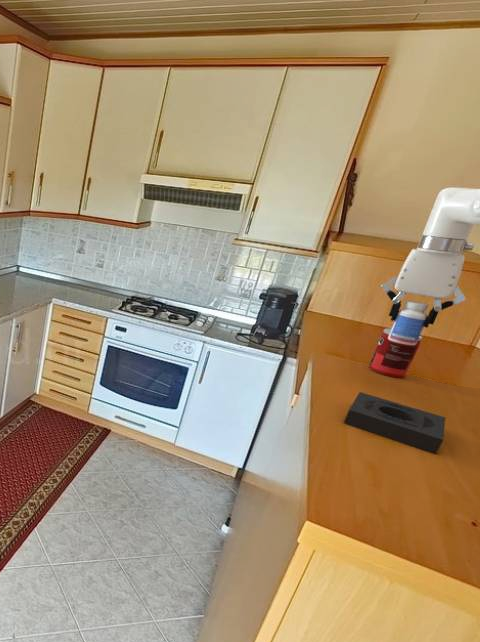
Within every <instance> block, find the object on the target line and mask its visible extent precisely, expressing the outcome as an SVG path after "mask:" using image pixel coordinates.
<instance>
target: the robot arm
mask: <svg viewBox="0 0 480 642" xmlns="http://www.w3.org/2000/svg"><path fill="white" fill-rule="evenodd" d="M474 225H476V226H480V188H471V187H446V188H444V189H442V190H440V191H439V193H438V194H437V196H436V199H435V202H434V204H433V207H432V209H431V212H430V214H429V217H428V219H427V221H426V225H425V227H424V229H423V232H422V235H421V237H420V240H419V242H418V245H417V247H416V248H412V249H411V251H410V252H409V254H408V256H407V257H406V259H405V261H404V263H403V265H402V267H401V269H400V271H399V273H398V275H396V276H395V277H393V278H391V279H389V280H388V281H386V282H384V283H382V284H381V285H380V288H381V290H383V291H384V293H385V294H386V295H387V297H388V299H390V301H391V302H392V305H391V308H390V310H389V313H388V317H391V318H390V321H391V322H394V321H395V318H396V316H397V313H398V311H399V310H401V306H402V304H401V303H402V300H403V299H404V298H405V297H406V295H408V294H409V295H415V296H422V297H427V298H432V299H433V306H432V309H430V310H429V312H428V314H427V316H428V317H427V320H426V322H425V325H424V327H423V328H427V329H428V328H429V325H432V326H433V325H434V324H435V321H436V319H437V317H438V314H439V312H441V311H444V310H446V309H448V308H450V307H452V306H455V305H458V304H461V303H464V302H466V300H467V298H466V296H465V295H464V293H463V292H462V290H461V289H460V287H459V286H458V283H459V280H460V277H461V273H462V271H463V268H464V263H465V259H466V255H465V254H462V252H465V251H473V249H474V247H475V243H471V242H469V241H468V239H469V237H470V234H471V231H472V230H473V227H474ZM393 285H394V289H395V290H396V291H397V292H398V294H396V292H395V291H394V290H393V289H392V288H391V286H393ZM452 295H454V296H455V297H454V298H452V299H449V300H447V301H446V300H445V299H448V298H450V297H451V296H452ZM442 300H445V301H444V302H443V301H442Z"/></svg>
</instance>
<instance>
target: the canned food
mask: <svg viewBox="0 0 480 642" xmlns="http://www.w3.org/2000/svg"><path fill="white" fill-rule="evenodd" d="M391 328H392V327H389V328H388V327H387V328H384V329H383V330H382V333H381V335H380V337H379V340H378V343H377V345H376V348H375V350H374V352H373V355H372V357H371V360H370V363H369V370H371V371H373V372H375V373H377V374H380V375H383V376H387V377H391V378H397V379H402V378H404V377H405V376H406V375H407V373H408V371H409V369H410V367H411V365H412V363H413V360H414V358H415V356H416V354H417V351H418V349H419V347H420V345H421V342H422V339H423V337H422V336H421V335H420V337H419V339H418V342H417V344H416V345H405V344H400V343H396V342H393V341H390V340H389V339H388V336H389V333H390V331H391Z"/></svg>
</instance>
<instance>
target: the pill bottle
mask: <svg viewBox="0 0 480 642" xmlns="http://www.w3.org/2000/svg"><path fill="white" fill-rule="evenodd" d="M428 308H429V304H428V303H426V302H421V301H415V300H406V301H405V302H404V309H399V311H398V313H397V316H396V318H395V321H394V320H393V324H392V326H391V327H390V328H391V331H390V333H389V336H388V339H389V340H390V341H393V342H396V343H400V344H405V345H416V344H417V342H418V339H419V337H420V336H421V334H422V332H423V329H424V328H425V327H424V325H425V322H426V320H427V317H428V314H427V313H425V312H427V310H428Z"/></svg>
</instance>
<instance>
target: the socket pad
mask: <svg viewBox="0 0 480 642" xmlns="http://www.w3.org/2000/svg"><path fill="white" fill-rule="evenodd" d="M349 407H350V408H349V409H348V411H347V414H346V416H345V418H344V420H343V424H346V425H348V426H352V427H354V428H357V429H361V430H363V431H367V432H370V433H373V434H375V435H378V436H382V437H385V438H387V439H391V440H394V441H396V442H399V443H402V444H405V445H408V446H411V447H414V448H416V449H420V450H423V451H426V452H429V453H432V454H435V455H436V454H438V451H439V449H440V447H441V446H442V443H443V441H444V435H445V427H446V426H445V425H446V416H442V415H438V414H436V413H432V412H428V411H427V410H426V411H425V410H422V409H419V408H416V407H412V406H409V405H405V404H403V403H399V402H395V401H392V400H389V399H385V398H382V397H379V396H375V395H372V394H369V393H365V392H361V391H359V392H358V394H357V396H356V397H355V399H354V401H353V402H352V404H351V406H349Z"/></svg>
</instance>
